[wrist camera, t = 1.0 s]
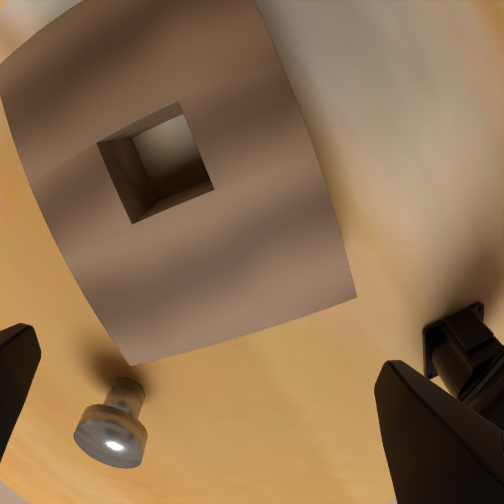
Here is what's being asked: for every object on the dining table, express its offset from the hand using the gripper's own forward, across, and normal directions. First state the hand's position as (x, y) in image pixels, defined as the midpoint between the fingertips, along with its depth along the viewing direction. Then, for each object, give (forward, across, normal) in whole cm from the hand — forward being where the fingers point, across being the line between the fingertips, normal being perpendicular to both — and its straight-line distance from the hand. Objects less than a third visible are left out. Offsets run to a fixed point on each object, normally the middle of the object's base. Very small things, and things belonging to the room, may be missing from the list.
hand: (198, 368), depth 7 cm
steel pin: (+14, +8, +17) cm, 23 cm away
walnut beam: (+14, +4, -3) cm, 15 cm away
